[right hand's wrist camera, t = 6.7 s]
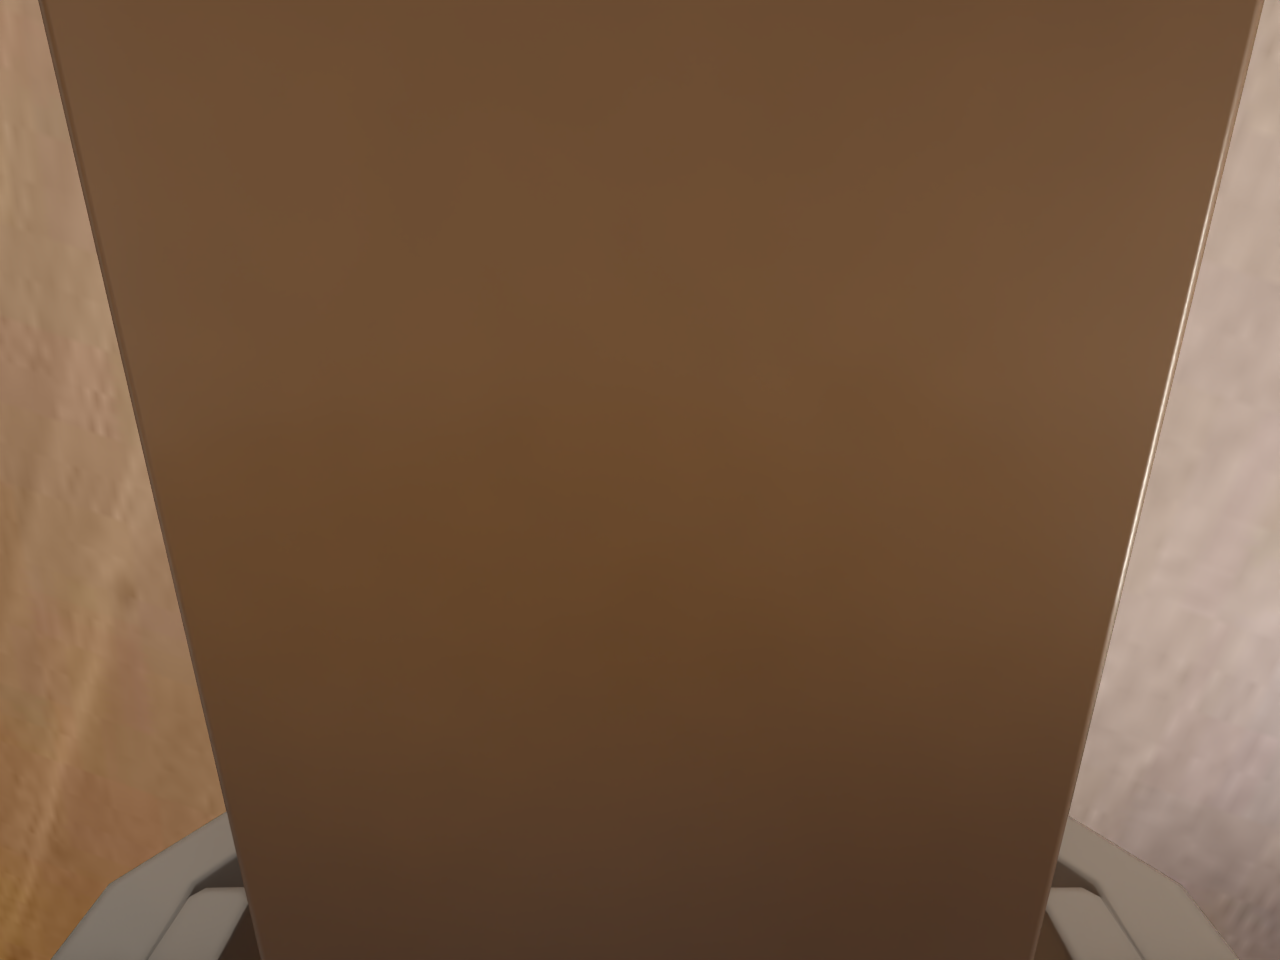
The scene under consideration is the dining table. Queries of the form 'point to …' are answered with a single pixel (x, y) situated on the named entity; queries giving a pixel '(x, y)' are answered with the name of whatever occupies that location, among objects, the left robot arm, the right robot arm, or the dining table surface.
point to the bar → (649, 443)
